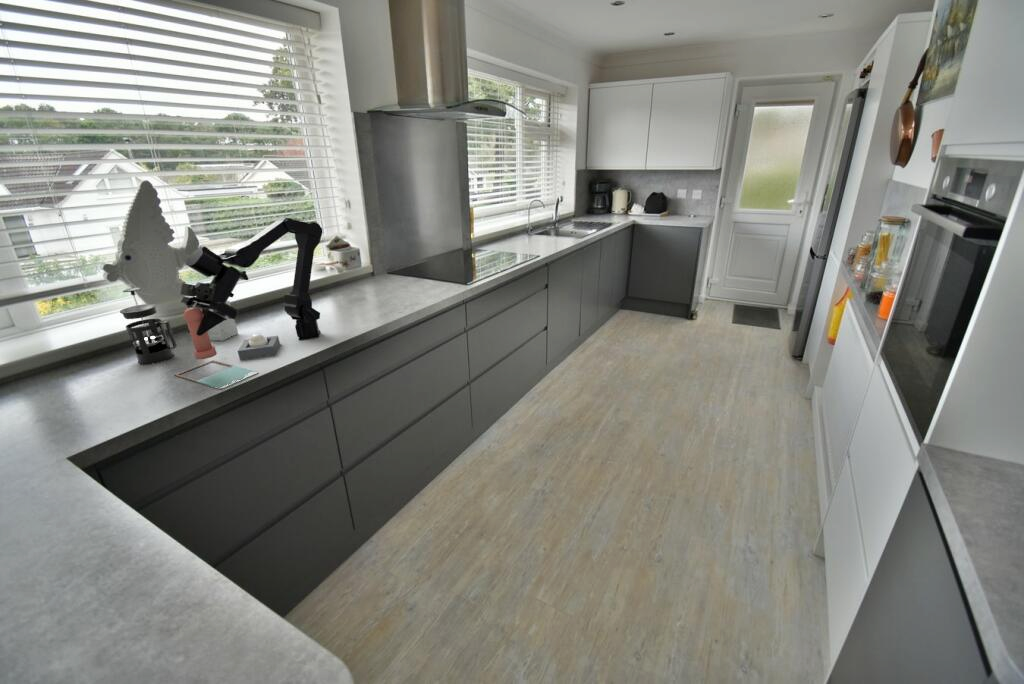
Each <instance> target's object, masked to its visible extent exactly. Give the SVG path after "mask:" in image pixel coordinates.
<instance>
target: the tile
mask: <svg viewBox="0 0 1024 684" xmlns="http://www.w3.org/2000/svg"><path fill="white" fill-rule="evenodd" d="M253 371H254V372H255V371H256V370H252V369H248V368H246V367H245V368H244V367H242V366H237V365H233V366H232V367H230V368H229V367H228V368H225V369H222V370H219V371H218V373H217V372H214V373H212V374H213V375H212V374H209V375H208V377H207V376H205V377H203V379H202V378H200V379H197V380H198V381H197V382H199V383H198V384H200V383H202V384H201V385H203V384H205V385H204V386H207V385H208V386H207V387H210V386H213V387H217V388H221V387H223V386H224V385H225V386H226V385H227V384H228V385H229V384H231V383H232V381H233V380H234V381H235V380H236V381H237V380H241V379H243V378H244V377H245V375H246V374H247V375H248V373H250V372H253ZM247 375H246V376H247ZM236 381H235V382H236ZM197 382H196V383H197ZM213 387H212V388H213Z"/></svg>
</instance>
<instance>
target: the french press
mask: <svg viewBox="0 0 1024 684" xmlns="http://www.w3.org/2000/svg"><path fill="white" fill-rule="evenodd" d="M140 290H141V288H140V287H130V288H126V289H123V291H122V292H123V293H130V295H131V296H132V297H133V300H134V303H135V305H133V306H129V307H125V308H123V309H120V310H119V313H120V314H122V316H123V317H124V319H126V320H136V319H141V320H137V321H133V322H131V323H129V324H126V325H125V329H126V332H128V335H129V337H130V339H131V342H132V345H133V347H134V350H135V355H136V358H137V363H138V364H139V363H140V364H139V365H141V364H148V365H153V364H152V363H155V364H158V363H157V362H159V363H162V362H161V361H163V362H165V361H164V360H166V361H167V359H168V360H170V359H172V358H173V357H174V356H175V353H174V352H173V349H175V348H176V347H178V345H177V341H176V339H175V337H174V332H173V330H172V327H171V323H170V322H169V320H164V321H163V320H162V319H161V318H148V319H147V317H151V316H153V315H155V314H156V313H158V312H157V309H156V307H157V304H156V303H145V304H139V303H138V302H137V298H136V293H135V292H136V291H140ZM143 318H146V319H143ZM163 324H165V326H166V329H167V333H168V336H169V338H170V340H171V343H172V345H171V344H170V343H169V340H168V336H167V334H166V331H165V327H164V325H163ZM141 325H143V326H141ZM137 326H141V327H137ZM158 328H159V330H160V332H161V335H160V333H159V331H158ZM149 331H150V332H151V334H152V335H151V336H150V335H149ZM143 332H146V335H147V336H146V337H145V336H144V334H143ZM134 334H135V335H134ZM135 336H136V338H137V339H136V338H135ZM163 342H164V343H163ZM139 347H140V348H139ZM173 355H174V356H173ZM172 356H173V357H172ZM171 357H172V358H171ZM169 358H170V359H169Z"/></svg>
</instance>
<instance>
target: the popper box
mask: <svg viewBox="0 0 1024 684" xmlns="http://www.w3.org/2000/svg"><path fill="white" fill-rule="evenodd" d="M265 337H266V338H267V341H268V345H264V346H257V347H250V345H249V340H250V339H251V338H250V339H244V340H243V342H242V344H241V345H240V347H238V350H237V354H238V358H239V360H240V359H243V360H247V359H246V358H250V359H254V358H253V357H257V358H260V357H259V356H264V357H268V356H267V355H271V356H275V355H276V354H277V352H278V350H279V347H280V344H281V342H280V337H279V335H272V336H265ZM277 349H278V350H277Z"/></svg>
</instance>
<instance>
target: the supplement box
mask: <svg viewBox="0 0 1024 684" xmlns="http://www.w3.org/2000/svg"><path fill="white" fill-rule="evenodd" d="M226 304H228V305H229V306H231V307H232V304H231V302H230V300H227V302H226ZM225 318H226V319H227V320H226V321H225V320H224V321H222V322H221V323H219V324H218V325H216V326H214V327H213V328H211V329H210V330H208V331H207V332H208V335H209V338H210V341H215V340H220V341H219V342H224V341H225V340H228V339H230V338H231V336H232V337H234V336H236V335H238V334H239V331H238V327H237V323H236V319H235V320H234V319H230V318H228V316H225Z"/></svg>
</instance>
